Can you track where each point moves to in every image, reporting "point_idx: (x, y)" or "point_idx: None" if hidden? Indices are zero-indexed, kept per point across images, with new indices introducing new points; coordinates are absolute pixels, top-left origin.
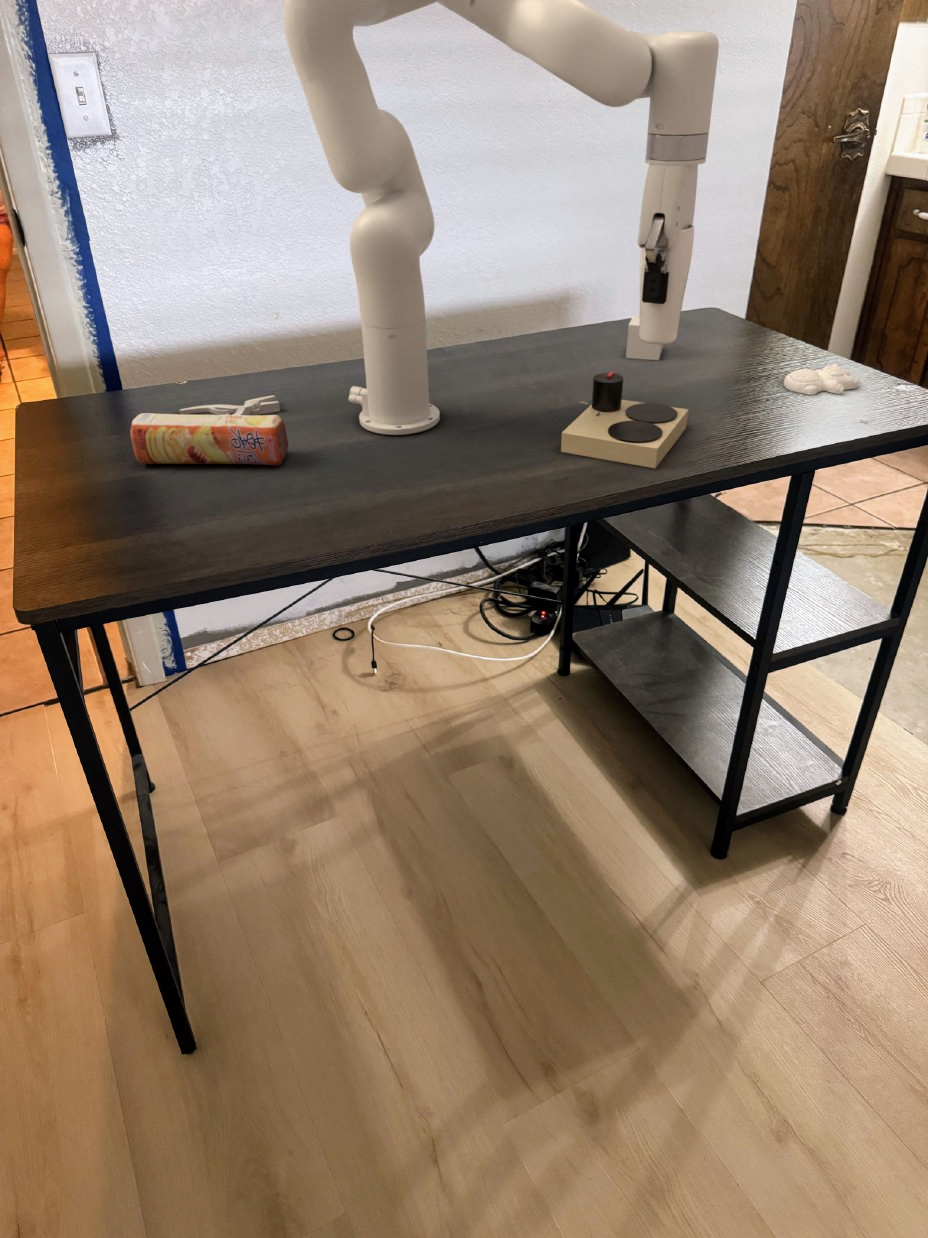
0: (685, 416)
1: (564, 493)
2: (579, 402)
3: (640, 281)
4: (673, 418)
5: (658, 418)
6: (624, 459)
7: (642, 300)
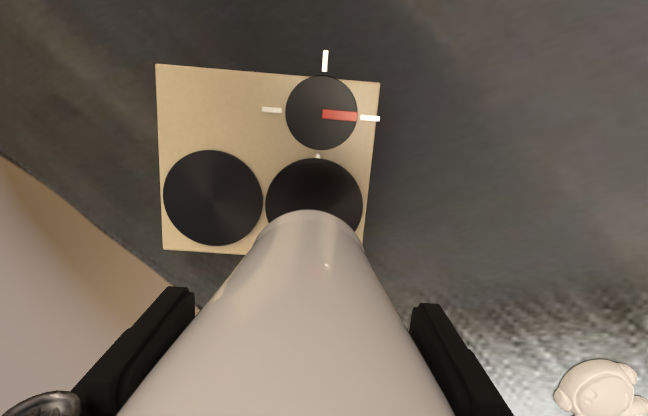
0: None
1: (22, 126)
2: (323, 50)
3: (235, 285)
4: None
5: None
6: None
7: (170, 287)
